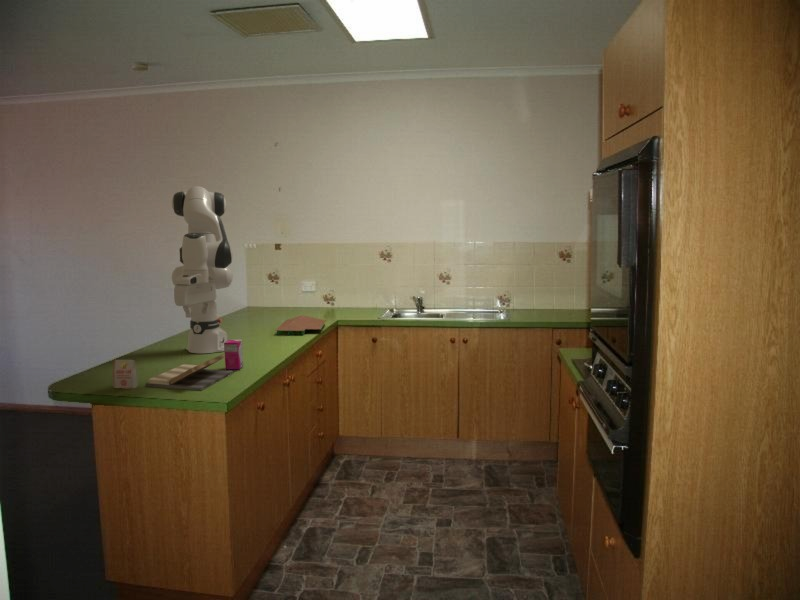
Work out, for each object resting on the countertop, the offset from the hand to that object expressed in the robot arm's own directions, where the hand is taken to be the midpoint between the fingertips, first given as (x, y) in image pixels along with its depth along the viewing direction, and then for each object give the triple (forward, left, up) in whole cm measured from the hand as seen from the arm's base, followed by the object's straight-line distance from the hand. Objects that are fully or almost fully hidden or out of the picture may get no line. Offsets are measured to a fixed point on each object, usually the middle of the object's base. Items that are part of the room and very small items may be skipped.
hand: (197, 315), depth 207 cm
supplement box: (-17, +5, -25) cm, 31 cm away
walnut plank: (+1, 0, -21) cm, 21 cm away
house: (-101, +2, -25) cm, 104 cm away
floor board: (+1, -3, -24) cm, 25 cm away
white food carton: (+15, -20, -25) cm, 35 cm away
